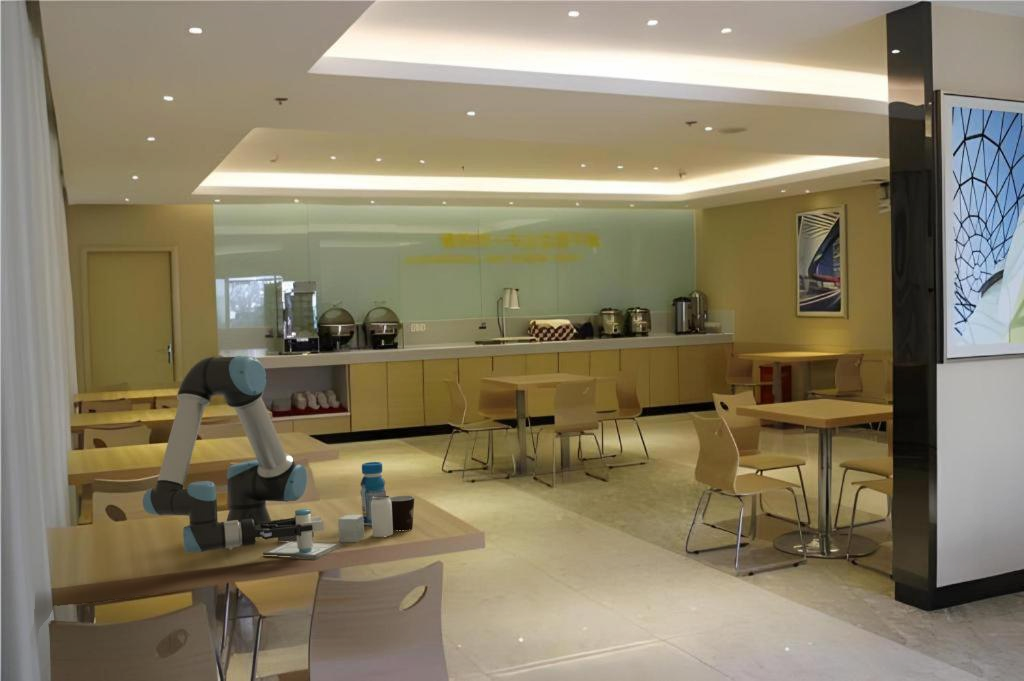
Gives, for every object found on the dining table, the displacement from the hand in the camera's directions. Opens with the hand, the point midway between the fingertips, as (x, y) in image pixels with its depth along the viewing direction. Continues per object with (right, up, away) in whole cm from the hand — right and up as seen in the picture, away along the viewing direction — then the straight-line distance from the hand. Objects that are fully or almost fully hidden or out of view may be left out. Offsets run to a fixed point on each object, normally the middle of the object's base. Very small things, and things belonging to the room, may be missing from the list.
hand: (321, 523), depth 272 cm
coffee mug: (+22, -7, +26) cm, 35 cm away
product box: (+7, -8, +14) cm, 17 cm away
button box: (-12, -9, +18) cm, 24 cm away
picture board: (-6, -9, +2) cm, 11 cm away
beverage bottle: (+10, -7, +36) cm, 38 cm away
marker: (-5, -8, -1) cm, 9 cm away
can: (+15, -8, +18) cm, 25 cm away
